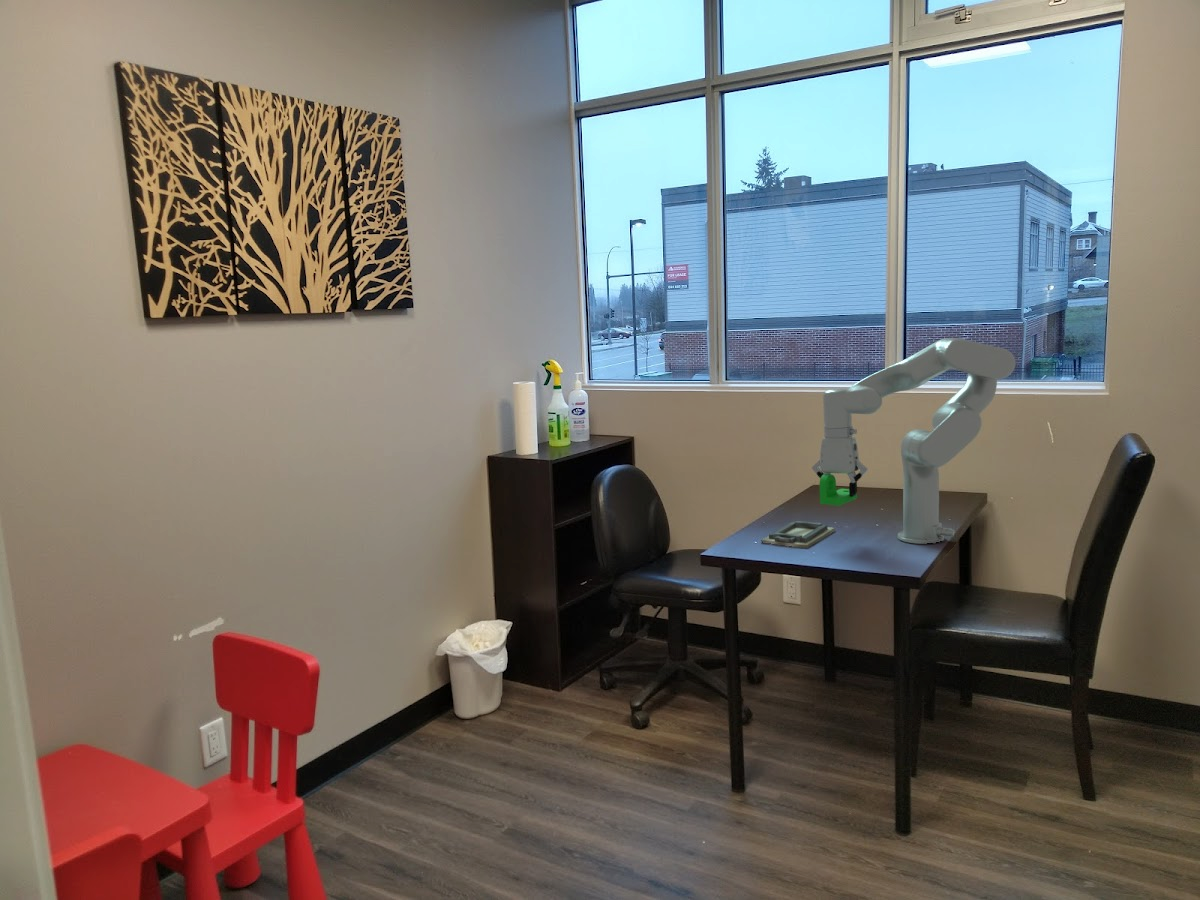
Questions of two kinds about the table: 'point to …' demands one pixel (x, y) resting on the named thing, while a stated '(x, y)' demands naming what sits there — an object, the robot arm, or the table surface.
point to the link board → (799, 534)
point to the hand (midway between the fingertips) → (840, 494)
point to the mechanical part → (833, 492)
